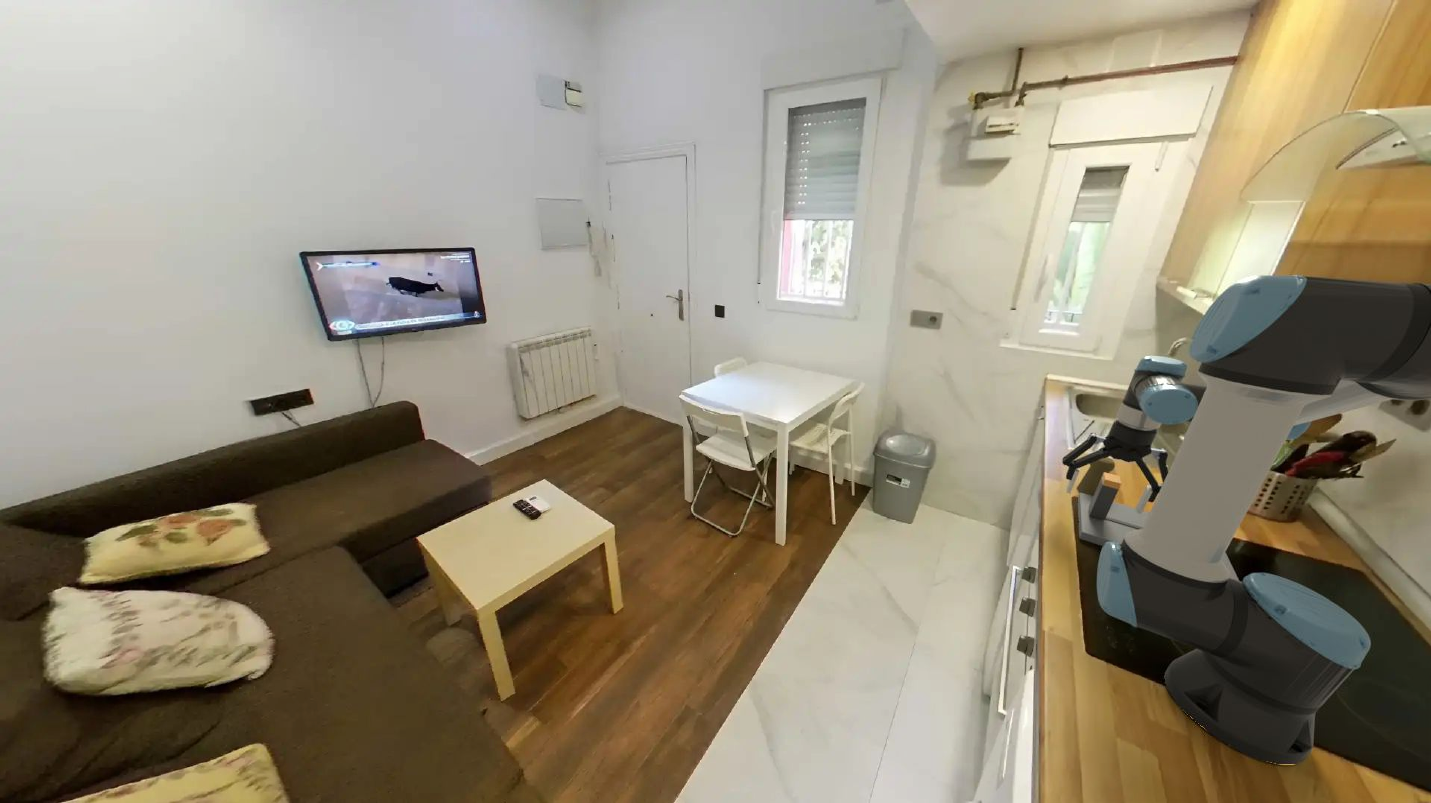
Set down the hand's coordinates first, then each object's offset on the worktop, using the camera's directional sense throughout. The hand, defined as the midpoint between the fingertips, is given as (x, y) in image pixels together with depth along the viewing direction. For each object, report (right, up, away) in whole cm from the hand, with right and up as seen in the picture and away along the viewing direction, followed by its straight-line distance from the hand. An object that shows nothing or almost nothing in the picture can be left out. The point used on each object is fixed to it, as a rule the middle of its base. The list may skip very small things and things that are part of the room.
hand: (1102, 500), depth 109 cm
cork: (+9, -1, +15) cm, 17 cm away
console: (+8, -8, -3) cm, 12 cm away
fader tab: (0, -4, +2) cm, 4 cm away
